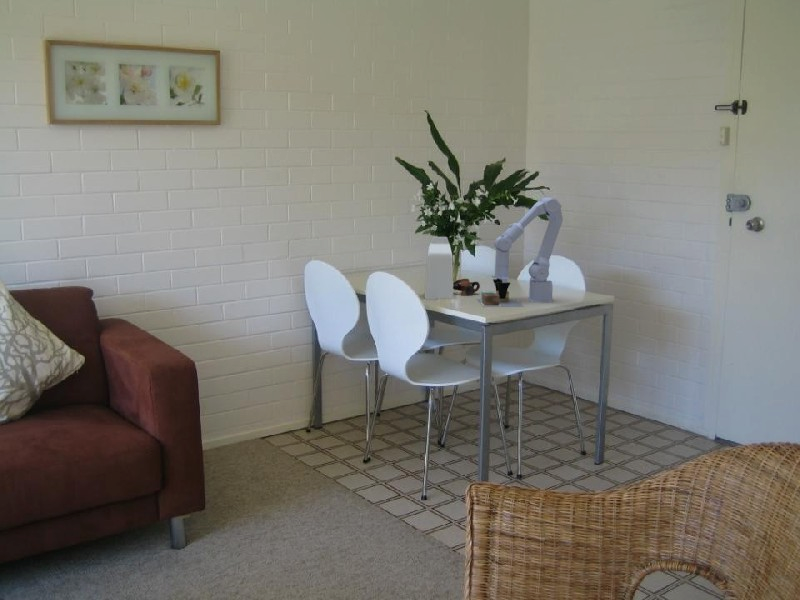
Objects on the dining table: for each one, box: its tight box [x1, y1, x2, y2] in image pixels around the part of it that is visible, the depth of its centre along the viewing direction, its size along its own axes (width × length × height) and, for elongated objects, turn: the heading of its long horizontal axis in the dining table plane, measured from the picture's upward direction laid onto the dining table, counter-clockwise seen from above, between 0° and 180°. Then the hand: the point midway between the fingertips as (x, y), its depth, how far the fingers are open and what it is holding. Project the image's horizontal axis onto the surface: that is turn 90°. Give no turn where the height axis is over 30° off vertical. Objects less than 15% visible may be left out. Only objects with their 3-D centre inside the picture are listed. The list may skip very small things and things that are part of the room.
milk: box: [424, 236, 454, 300], centre depth 383 cm, size 12×12×26 cm
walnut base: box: [481, 292, 500, 306], centre depth 367 cm, size 6×6×4 cm
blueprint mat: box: [476, 298, 525, 308], centre depth 371 cm, size 17×18×1 cm
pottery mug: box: [453, 278, 481, 297], centre depth 392 cm, size 12×10×8 cm
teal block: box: [480, 290, 495, 300], centre depth 374 cm, size 4×4×4 cm
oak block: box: [495, 290, 510, 302], centre depth 376 cm, size 4×4×4 cm
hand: (500, 297), depth 376 cm, fingers open, 6 cm apart
